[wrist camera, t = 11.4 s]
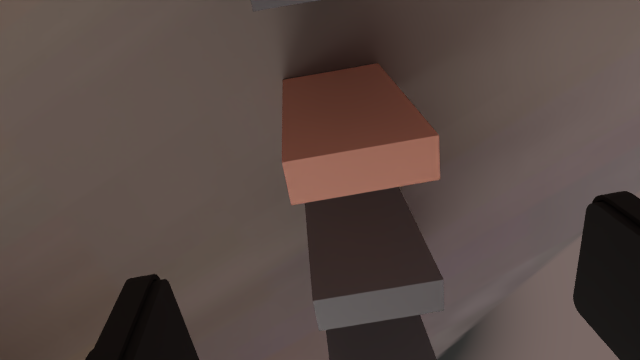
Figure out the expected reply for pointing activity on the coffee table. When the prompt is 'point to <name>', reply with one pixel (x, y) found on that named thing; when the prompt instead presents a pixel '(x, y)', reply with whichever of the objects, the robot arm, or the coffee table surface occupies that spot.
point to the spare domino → (353, 135)
